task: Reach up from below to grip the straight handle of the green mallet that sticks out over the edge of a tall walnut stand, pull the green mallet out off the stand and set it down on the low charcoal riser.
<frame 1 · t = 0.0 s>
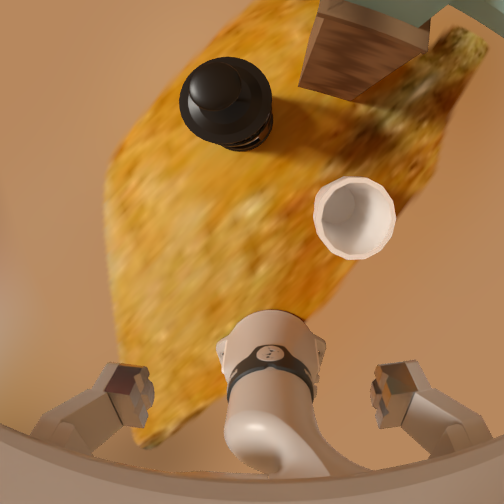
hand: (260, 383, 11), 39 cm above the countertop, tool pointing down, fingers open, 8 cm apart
stand: (330, 67, 41), on the countertop
foam cup: (334, 203, 47), on the countertop
french press: (237, 118, 45), on the countertop
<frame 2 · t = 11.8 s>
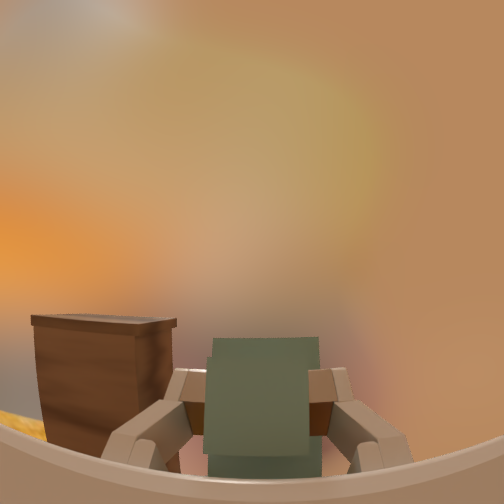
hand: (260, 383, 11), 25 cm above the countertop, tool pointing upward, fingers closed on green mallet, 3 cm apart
green mallet: (265, 484, 16), point 16 cm above the countertop, tilted 22°, touching gripper
when the fingers open (19 cm above the countertop, at t = 13.3 s): green mallet stays where it is, resting on riser.
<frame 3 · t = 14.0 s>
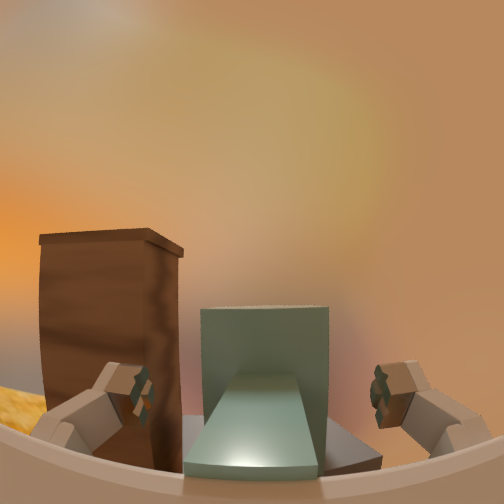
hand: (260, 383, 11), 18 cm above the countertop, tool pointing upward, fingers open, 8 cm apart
green mallet: (267, 453, 16), point 12 cm above the countertop, touching riser
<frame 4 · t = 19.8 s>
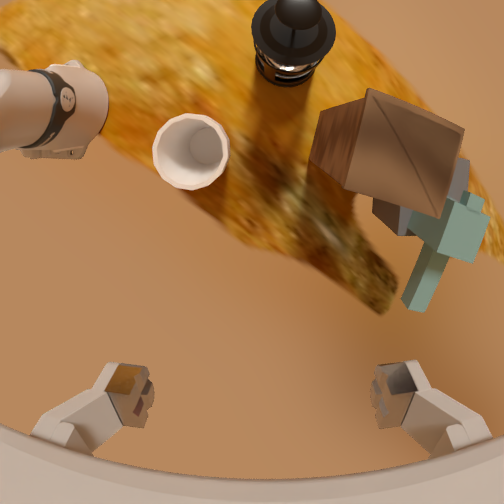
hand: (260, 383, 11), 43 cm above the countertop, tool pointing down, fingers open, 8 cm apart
green mallet: (431, 212, 39), point 12 cm above the countertop, touching riser
riser: (403, 181, 49), on the countertop
stand: (341, 142, 48), on the countertop
foam cup: (208, 145, 49), on the countertop
french press: (287, 57, 43), on the countertop
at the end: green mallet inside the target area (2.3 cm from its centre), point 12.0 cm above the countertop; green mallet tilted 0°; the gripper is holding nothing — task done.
